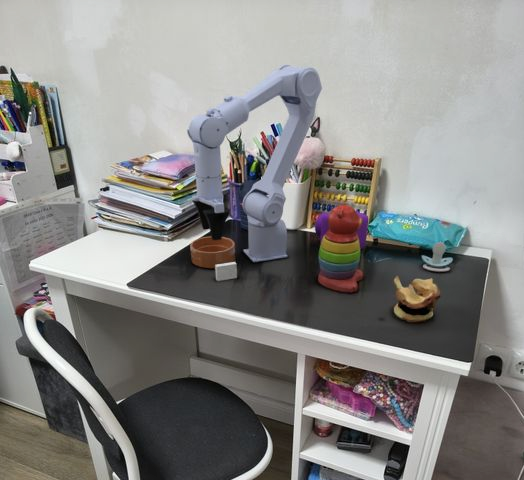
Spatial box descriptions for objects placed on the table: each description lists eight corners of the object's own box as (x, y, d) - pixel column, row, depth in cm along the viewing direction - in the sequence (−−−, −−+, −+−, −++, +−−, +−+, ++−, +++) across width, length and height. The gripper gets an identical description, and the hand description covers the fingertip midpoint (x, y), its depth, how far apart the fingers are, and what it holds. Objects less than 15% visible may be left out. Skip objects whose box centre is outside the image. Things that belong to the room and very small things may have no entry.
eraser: (215, 279, 117) (215, 264, 115) (235, 276, 119) (234, 261, 117) (217, 281, 116) (216, 266, 114) (236, 278, 118) (236, 263, 116)
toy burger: (429, 331, 97) (438, 293, 93) (381, 320, 101) (386, 283, 97) (441, 305, 106) (449, 270, 102) (396, 296, 110) (401, 261, 105)
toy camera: (325, 235, 141) (328, 200, 136) (369, 246, 135) (374, 209, 129) (305, 247, 134) (307, 210, 128) (350, 259, 127) (355, 221, 122)
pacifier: (451, 275, 120) (450, 264, 125) (457, 250, 116) (455, 240, 121) (420, 272, 121) (419, 261, 126) (425, 248, 117) (424, 238, 122)
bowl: (227, 250, 132) (226, 234, 130) (241, 266, 124) (240, 249, 121) (187, 256, 129) (185, 239, 126) (198, 272, 120) (196, 255, 118)
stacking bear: (355, 294, 111) (364, 216, 101) (311, 287, 114) (316, 210, 104) (364, 275, 119) (373, 201, 109) (323, 269, 122) (328, 196, 112)
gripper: (182, 169, 115) (187, 226, 122) (200, 185, 103) (204, 247, 111) (212, 166, 117) (215, 222, 124) (232, 181, 106) (234, 242, 113)
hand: (212, 234), depth 118 cm, fingers open, 7 cm apart
